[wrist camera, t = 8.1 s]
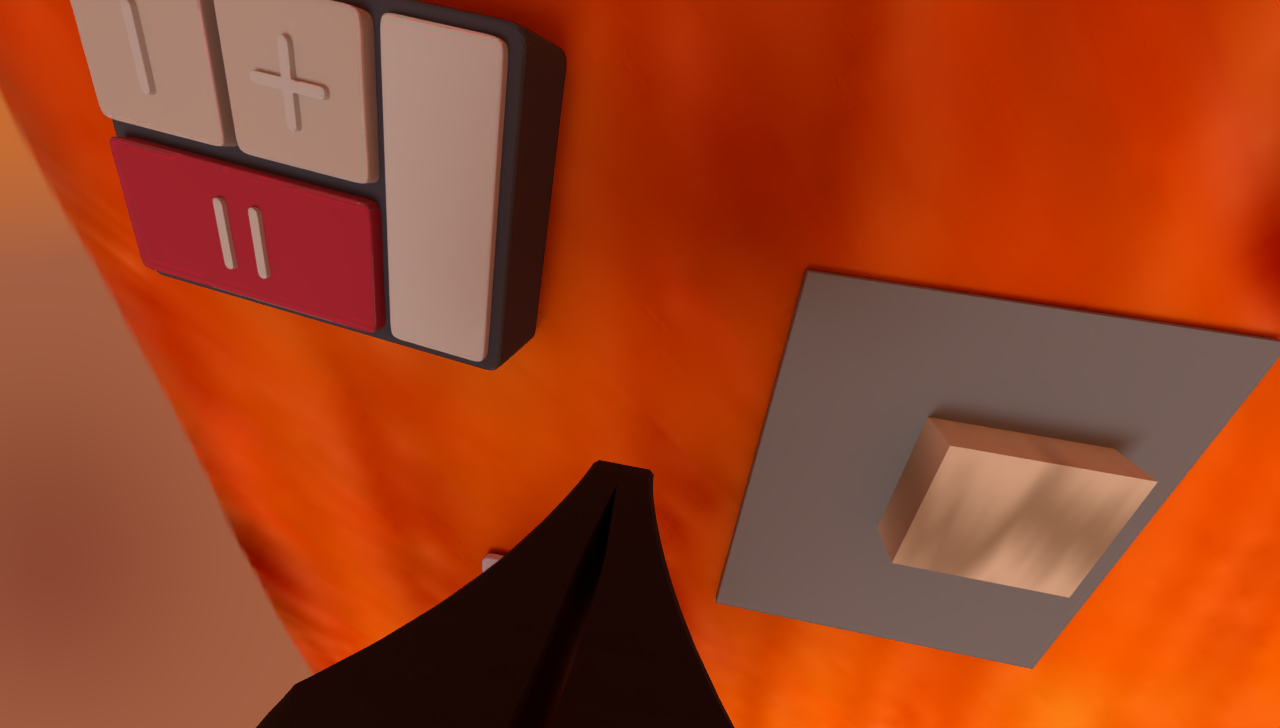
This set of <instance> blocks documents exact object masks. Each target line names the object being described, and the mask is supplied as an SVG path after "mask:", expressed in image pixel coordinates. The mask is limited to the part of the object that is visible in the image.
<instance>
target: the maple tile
mask: <svg viewBox="0 0 1280 728" xmlns="http://www.w3.org/2000/svg"><path fill="white" fill-rule="evenodd" d="M1156 484H1157V481H1156V480H1155V479H1153V478H1152V477H1151V476H1149V475H1148V474H1147V473H1146V472H1144V471H1143V470H1142V469H1140V468H1139V467H1138V466H1136V465H1135V464H1134V463H1132V462H1131V461H1130V460H1128V459H1127V458H1126V457H1124V456H1123V455H1122V454H1120V453H1119V452H1118V451H1117V450H1115V449H1113V448H1107V447H1102V446H1096V445H1090V444H1084V443H1078V442H1072V441H1066V440H1060V439H1055V438H1049V437H1043V436H1037V435H1031V434H1025V433H1019V432H1013V431H1007V430H1002V429H996V428H990V427H984V426H978V425H972V424H966V423H960V422H955V421H949V420H943V419H937V418H931V417H927V419H926V422H925V424H924V426H923V428H922V430H921V433H920V435H919V437H918V439H917V441H916V444H915V446H914V448H913V450H912V452H911V455H910V457H909V459H908V461H907V463H906V466H905V468H904V470H903V472H902V474H901V477H900V479H899V481H898V483H897V485H896V488H895V490H894V492H893V494H892V496H891V499H890V501H889V503H888V505H887V507H886V510H885V512H884V514H883V516H882V518H881V521H880V523H879V525H878V527H877V528H878V531H879V533H880V536H881V538H882V540H883V543H884V545H885V547H886V550H887V552H888V555H889V557H890V559H891V562H892V563H895V564H900V565H905V566H910V567H916V568H921V569H926V570H931V571H936V572H941V573H946V574H951V575H956V576H961V577H966V578H972V579H977V580H982V581H987V582H992V583H997V584H1002V585H1007V586H1012V587H1017V588H1022V589H1028V590H1033V591H1038V592H1043V593H1048V594H1053V595H1058V596H1063V597H1068V598H1070V596H1071V595H1072V594H1073V592H1074V591H1075V590H1076V588H1077V587H1078V586H1079V584H1080V583H1081V582H1082V581H1083V579H1084V578H1085V577H1086V575H1087V574H1088V573H1089V571H1090V570H1091V569H1092V567H1093V566H1094V565H1095V564H1096V562H1097V561H1098V560H1099V558H1100V557H1101V556H1102V554H1103V553H1104V552H1105V550H1106V549H1107V548H1108V547H1109V545H1110V544H1111V543H1112V541H1113V540H1114V539H1115V537H1116V536H1117V535H1118V533H1119V532H1120V531H1121V530H1122V528H1123V527H1124V526H1125V524H1126V523H1127V522H1128V520H1129V519H1130V518H1131V516H1132V515H1133V514H1134V512H1135V511H1136V510H1137V509H1138V507H1139V506H1140V505H1141V503H1142V502H1143V501H1144V499H1145V498H1146V497H1147V495H1148V494H1149V493H1150V492H1151V490H1152V489H1153V488H1154V486H1155V485H1156Z"/></svg>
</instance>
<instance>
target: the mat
mask: <svg viewBox="0 0 1280 728" xmlns="http://www.w3.org/2000/svg"><path fill="white" fill-rule="evenodd" d="M1279 357H1280V340H1279V339H1274V338H1267V337H1261V336H1254V335H1247V334H1240V333H1233V332H1227V331H1220V330H1213V329H1206V328H1200V327H1193V326H1186V325H1179V324H1173V323H1166V322H1159V321H1152V320H1146V319H1139V318H1132V317H1125V316H1119V315H1112V314H1105V313H1098V312H1092V311H1085V310H1078V309H1071V308H1064V307H1058V306H1051V305H1044V304H1037V303H1031V302H1024V301H1017V300H1010V299H1004V298H997V297H990V296H983V295H977V294H970V293H963V292H956V291H950V290H943V289H936V288H929V287H923V286H916V285H909V284H902V283H896V282H889V281H882V280H875V279H868V278H862V277H855V276H848V275H841V274H835V273H828V272H821V271H814V270H808V269H806V271H805V275H804V279H803V282H802V286H801V289H800V293H799V297H798V300H797V304H796V308H795V311H794V315H793V319H792V322H791V326H790V330H789V333H788V337H787V340H786V344H785V348H784V351H783V355H782V359H781V362H780V366H779V370H778V373H777V377H776V380H775V384H774V388H773V391H772V395H771V399H770V402H769V406H768V410H767V413H766V417H765V420H764V424H763V428H762V431H761V435H760V439H759V442H758V446H757V450H756V453H755V457H754V460H753V464H752V468H751V471H750V475H749V479H748V482H747V486H746V490H745V493H744V497H743V500H742V504H741V508H740V511H739V515H738V519H737V522H736V526H735V530H734V533H733V537H732V540H731V544H730V548H729V551H728V555H727V559H726V562H725V566H724V570H723V573H722V577H721V580H720V584H719V588H718V591H717V595H716V603H720V604H724V605H729V606H734V607H739V608H744V609H748V610H753V611H758V612H763V613H767V614H772V615H777V616H782V617H786V618H791V619H796V620H801V621H806V622H810V623H815V624H820V625H825V626H829V627H834V628H839V629H844V630H849V631H853V632H858V633H863V634H868V635H872V636H877V637H882V638H887V639H891V640H896V641H901V642H906V643H911V644H915V645H920V646H925V647H930V648H934V649H939V650H944V651H949V652H953V653H958V654H963V655H968V656H973V657H977V658H982V659H987V660H992V661H996V662H1001V663H1006V664H1011V665H1015V666H1020V667H1025V668H1030V669H1033V667H1034V666H1035V665H1036V664H1037V662H1038V661H1039V660H1040V659H1041V657H1042V656H1043V655H1044V654H1045V652H1046V651H1047V650H1048V648H1049V647H1050V646H1051V645H1052V643H1053V642H1054V641H1055V640H1056V638H1057V637H1058V636H1059V635H1060V633H1061V632H1062V631H1063V630H1064V628H1065V627H1066V626H1067V624H1068V623H1069V622H1070V621H1071V619H1072V618H1073V617H1074V616H1075V614H1076V613H1077V612H1078V611H1079V609H1080V608H1081V607H1082V606H1083V604H1084V603H1085V602H1086V600H1087V599H1088V598H1089V597H1090V595H1091V594H1092V593H1093V592H1094V590H1095V589H1096V588H1097V587H1098V585H1099V584H1100V583H1101V581H1102V580H1103V579H1104V578H1105V576H1106V575H1107V574H1108V573H1109V571H1110V570H1111V569H1112V568H1113V566H1114V565H1115V564H1116V563H1117V561H1118V560H1119V559H1120V557H1121V556H1122V555H1123V554H1124V552H1125V551H1126V550H1127V549H1128V547H1129V546H1130V545H1131V544H1132V542H1133V541H1134V540H1135V539H1136V537H1137V536H1138V535H1139V533H1140V532H1141V531H1142V530H1143V528H1144V527H1145V526H1146V525H1147V523H1148V522H1149V521H1150V520H1151V518H1152V517H1153V516H1154V515H1155V513H1156V512H1157V511H1158V509H1159V508H1160V507H1161V506H1162V504H1163V503H1164V502H1165V501H1166V499H1167V498H1168V497H1169V496H1170V494H1171V493H1172V492H1173V491H1174V489H1175V488H1176V487H1177V485H1178V484H1179V483H1180V482H1181V480H1182V479H1183V478H1184V477H1185V475H1186V474H1187V473H1188V472H1189V470H1190V469H1191V468H1192V466H1193V465H1194V464H1195V463H1196V461H1197V460H1198V459H1199V458H1200V456H1201V455H1202V454H1203V453H1204V451H1205V450H1206V449H1207V448H1208V446H1209V445H1210V444H1211V442H1212V441H1213V440H1214V439H1215V437H1216V436H1217V435H1218V434H1219V432H1220V431H1221V430H1222V429H1223V427H1224V426H1225V425H1226V424H1227V422H1228V421H1229V420H1230V418H1231V417H1232V416H1233V415H1234V413H1235V412H1236V411H1237V410H1238V408H1239V407H1240V406H1241V405H1242V403H1243V402H1244V401H1245V400H1246V398H1247V397H1248V396H1249V394H1250V393H1251V392H1252V391H1253V389H1254V388H1255V387H1256V386H1257V384H1258V383H1259V382H1260V381H1261V379H1262V378H1263V377H1264V375H1265V374H1266V373H1267V372H1268V370H1269V369H1270V368H1271V367H1272V365H1273V364H1274V363H1275V362H1276V360H1277V359H1278V358H1279ZM927 417H931V418H937V419H943V420H949V421H955V422H960V423H966V424H972V425H978V426H984V427H990V428H996V429H1002V430H1007V431H1013V432H1019V433H1025V434H1031V435H1037V436H1043V437H1049V438H1055V439H1060V440H1066V441H1072V442H1078V443H1084V444H1090V445H1096V446H1102V447H1107V448H1113V449H1115V450H1117V451H1118V452H1119V453H1120V454H1122V455H1123V456H1124V457H1126V458H1127V459H1128V460H1130V461H1131V462H1132V463H1134V464H1135V465H1136V466H1138V467H1139V468H1140V469H1142V470H1143V471H1144V472H1146V473H1147V474H1148V475H1149V476H1151V477H1152V478H1153V479H1155V480H1156V481H1157V484H1156V485H1155V486H1154V488H1153V489H1152V490H1151V492H1150V493H1149V494H1148V495H1147V497H1146V498H1145V499H1144V501H1143V502H1142V503H1141V505H1140V506H1139V507H1138V509H1137V510H1136V511H1135V512H1134V514H1133V515H1132V516H1131V518H1130V519H1129V520H1128V522H1127V523H1126V524H1125V526H1124V527H1123V528H1122V530H1121V531H1120V532H1119V533H1118V535H1117V536H1116V537H1115V539H1114V540H1113V541H1112V543H1111V544H1110V545H1109V547H1108V548H1107V549H1106V550H1105V552H1104V553H1103V554H1102V556H1101V557H1100V558H1099V560H1098V561H1097V562H1096V564H1095V565H1094V566H1093V567H1092V569H1091V570H1090V571H1089V573H1088V574H1087V575H1086V577H1085V578H1084V579H1083V581H1082V582H1081V583H1080V584H1079V586H1078V587H1077V588H1076V590H1075V591H1074V592H1073V594H1072V595H1071V596H1070V598H1068V597H1063V596H1058V595H1053V594H1048V593H1043V592H1038V591H1033V590H1028V589H1022V588H1017V587H1012V586H1007V585H1002V584H997V583H992V582H987V581H982V580H977V579H972V578H966V577H961V576H956V575H951V574H946V573H941V572H936V571H931V570H926V569H921V568H916V567H910V566H905V565H900V564H895V563H892V562H891V559H890V557H889V555H888V552H887V550H886V547H885V545H884V543H883V540H882V538H881V536H880V533H879V531H878V528H877V527H878V525H879V523H880V521H881V518H882V516H883V514H884V512H885V510H886V507H887V505H888V503H889V501H890V499H891V496H892V494H893V492H894V490H895V488H896V485H897V483H898V481H899V479H900V477H901V474H902V472H903V470H904V468H905V466H906V463H907V461H908V459H909V457H910V455H911V452H912V450H913V448H914V446H915V444H916V441H917V439H918V437H919V435H920V433H921V430H922V428H923V426H924V424H925V422H926V419H927Z"/></svg>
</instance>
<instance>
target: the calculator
mask: <svg viewBox="0 0 1280 728" xmlns="http://www.w3.org/2000/svg"><path fill="white" fill-rule="evenodd" d="M70 1H71V5H72V8H73V12H74V16H75V19H76V23H77V26H78V30H79V34H80V37H81V41H82V45H83V48H84V52H85V55H86V59H87V63H88V66H89V70H90V74H91V77H92V81H93V84H94V88H95V92H96V95H97V99H98V103H99V105H100V108H101V110H102V112H103V113H104V114H105V115H106V116H107V117H109V118H111V119H112V120H113V124H114V128H115V131H116V135H117V137H112V138H111V139H110V145H111V150H112V154H113V157H114V161H115V164H116V168H117V172H118V175H119V179H120V182H121V186H122V190H123V193H124V197H125V201H126V204H127V208H128V211H129V215H130V219H131V222H132V226H133V230H134V233H135V237H136V240H137V244H138V248H139V251H140V255H141V258H142V261H143V263H144V265H145V266H147V267H148V268H150V269H153V270H156V271H157V272H158V273H160V274H162V275H164V276H168V277H171V278H174V279H178V280H181V281H185V282H188V283H191V284H195V285H198V286H202V287H205V288H209V289H212V290H215V291H219V292H222V293H226V294H229V295H233V296H236V297H239V298H243V299H246V300H250V301H253V302H256V303H260V304H263V305H267V306H270V307H274V308H277V309H280V310H284V311H287V312H291V313H294V314H298V315H301V316H304V317H308V318H311V319H315V320H318V321H322V322H325V323H328V324H332V325H335V326H339V327H342V328H346V329H349V330H352V331H356V332H359V333H363V334H366V335H369V336H373V337H376V338H380V339H383V340H387V341H390V342H393V343H397V344H400V345H404V346H407V347H411V348H414V349H417V350H421V351H424V352H428V353H431V354H435V355H438V356H441V357H445V358H448V359H452V360H455V361H458V362H462V363H465V364H469V365H472V366H476V367H479V368H483V369H487V370H495V369H497V368H498V367H500V366H501V365H502V364H503V363H504V362H506V361H507V360H508V359H509V358H510V357H511V356H512V355H513V354H515V353H516V352H517V351H518V350H519V349H520V348H521V347H523V346H524V345H525V344H526V343H527V342H528V341H529V340H530V339H531V338H533V336H534V334H535V328H536V320H537V311H538V303H539V294H540V286H541V277H542V269H543V260H544V252H545V243H546V235H547V226H548V218H549V209H550V200H551V192H552V183H553V175H554V166H555V158H556V149H557V141H558V132H559V124H560V115H561V106H562V98H563V89H564V81H565V72H566V57H565V54H564V52H563V51H562V50H561V49H560V48H559V47H558V46H556V45H554V44H553V43H551V42H549V41H547V40H546V39H544V38H542V37H540V36H539V35H537V34H535V33H533V32H532V31H530V30H528V29H526V28H524V27H523V26H521V25H519V24H517V23H515V22H511V21H508V20H504V19H500V18H495V17H490V16H486V15H481V14H477V13H472V12H468V11H463V10H458V9H454V8H449V7H445V6H440V5H436V4H431V3H427V2H422V1H417V0H70Z"/></svg>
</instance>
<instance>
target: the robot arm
mask: <svg viewBox="0 0 1280 728" xmlns="http://www.w3.org/2000/svg"><path fill="white" fill-rule="evenodd" d="M653 476H654V475H653V473H652V472H651V471H650V470H648V469H643V468H637V467H632V466H627V465H622V464H617V463H611V462H606V461H601V460H598V461H597V462H595V463H594V464H593V465H592V466H591V468H590V469H589V470H588V472H587V473H586V474H585V476H584V477H583V478H582V479H581V481H580V482H579V483H578V484H577V485H576V486H575V488H574V489H573V490H572V491H571V492H570V493H569V494H568V496H567V497H566V498H565V499H564V500H563V501H562V502H561V503H560V504H559V505H558V506H557V507H556V508H555V509H554V510H553V511H552V512H551V513H550V514H549V515H548V516H547V517H546V518H545V519H544V520H543V521H542V522H541V523H540V524H539V525H538V526H537V527H536V528H535V529H534V530H533V531H532V532H531V533H529V534H528V535H527V536H526V537H525V538H524V539H523V540H522V541H521V542H520V543H519V544H517V545H516V546H515V547H514V548H513V549H512V550H510V551H509V552H508V553H507V554H506V555H505V556H503V555H498V554H493V553H489V554H487V555H486V556H485V557H484V559H483V561H482V570H483V573H482V574H481V575H479V576H478V577H476V578H475V579H474V580H472V581H471V582H469V583H468V584H467V585H465V586H464V587H463V588H461V589H460V590H458V591H457V592H456V593H454V594H453V595H451V596H450V597H448V598H447V599H445V600H444V601H442V602H441V603H439V604H438V605H436V606H435V607H433V608H432V609H430V610H429V611H427V612H425V613H424V614H422V615H420V616H419V617H417V618H415V619H414V620H412V621H411V622H409V623H407V624H406V625H404V626H402V627H401V628H399V629H397V630H396V631H394V632H392V633H391V634H389V635H387V636H386V637H384V638H382V639H381V640H379V641H377V642H375V643H374V644H372V645H370V646H368V647H366V648H364V649H363V650H361V651H359V652H357V653H355V654H353V655H351V656H349V657H347V658H345V659H343V660H342V661H340V662H338V663H336V664H334V665H332V666H330V667H328V668H326V669H324V670H322V671H320V672H319V673H317V674H315V675H313V676H311V677H309V678H307V679H305V680H303V681H301V682H299V683H297V684H295V685H294V686H293V687H292V688H291V690H290V691H289V692H288V693H287V694H286V695H285V696H284V698H283V699H282V700H281V701H280V702H279V703H278V704H277V705H276V706H275V707H274V708H273V709H272V710H271V711H270V712H269V713H268V714H267V715H266V717H265V718H264V719H263V720H262V721H261V722H260V724H259V725H258V726H257V727H256V728H734V726H733V724H732V722H731V720H730V718H729V716H728V714H727V712H726V710H725V709H724V707H723V705H722V703H721V701H720V699H719V697H718V695H717V693H716V690H715V688H714V686H713V684H712V682H711V680H710V677H709V675H708V673H707V671H706V669H705V667H704V664H703V662H702V660H701V658H700V656H699V654H698V652H697V649H696V647H695V645H694V642H693V640H692V637H691V635H690V632H689V630H688V627H687V625H686V622H685V620H684V617H683V614H682V611H681V609H680V606H679V603H678V600H677V597H676V594H675V591H674V588H673V585H672V582H671V579H670V575H669V572H668V568H667V565H666V561H665V557H664V553H663V549H662V545H661V540H660V536H659V531H658V526H657V521H656V515H655V508H654V499H653Z"/></svg>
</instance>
